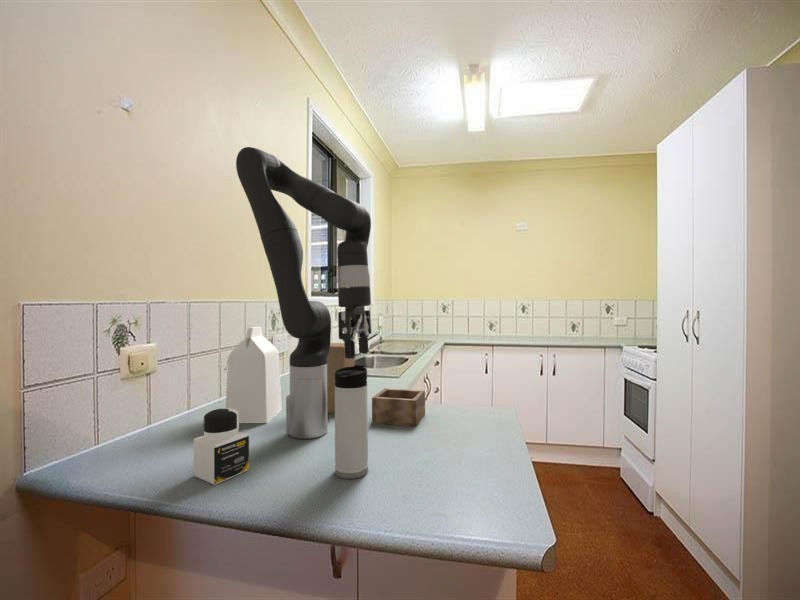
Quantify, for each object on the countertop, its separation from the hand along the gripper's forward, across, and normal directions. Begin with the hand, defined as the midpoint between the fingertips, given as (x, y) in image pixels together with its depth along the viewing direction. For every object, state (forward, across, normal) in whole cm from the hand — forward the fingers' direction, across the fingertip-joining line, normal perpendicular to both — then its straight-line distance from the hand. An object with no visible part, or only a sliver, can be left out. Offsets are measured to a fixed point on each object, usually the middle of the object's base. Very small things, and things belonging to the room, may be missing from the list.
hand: (357, 355), depth 84 cm
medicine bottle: (+20, +20, -21) cm, 35 cm away
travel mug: (+21, +14, +3) cm, 25 cm away
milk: (+19, -12, -38) cm, 44 cm away
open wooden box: (+20, -20, +4) cm, 29 cm away
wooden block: (+20, -24, -18) cm, 36 cm away
